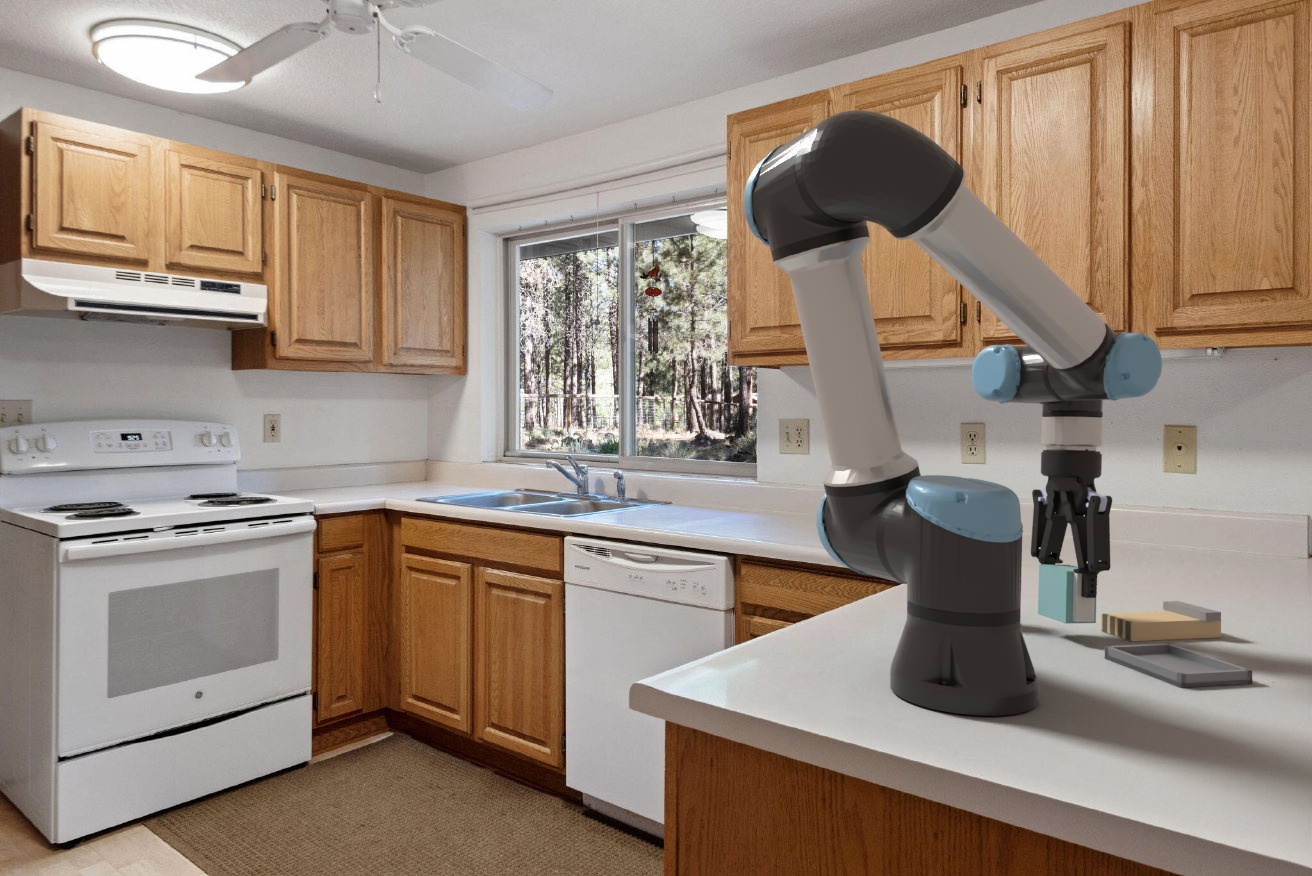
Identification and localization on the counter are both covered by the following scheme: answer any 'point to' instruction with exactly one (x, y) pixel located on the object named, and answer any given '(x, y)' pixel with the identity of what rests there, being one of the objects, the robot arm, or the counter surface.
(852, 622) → the counter surface
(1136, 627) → the tan notched slab
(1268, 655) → the counter surface
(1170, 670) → the tray
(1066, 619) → the block
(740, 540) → the counter surface
